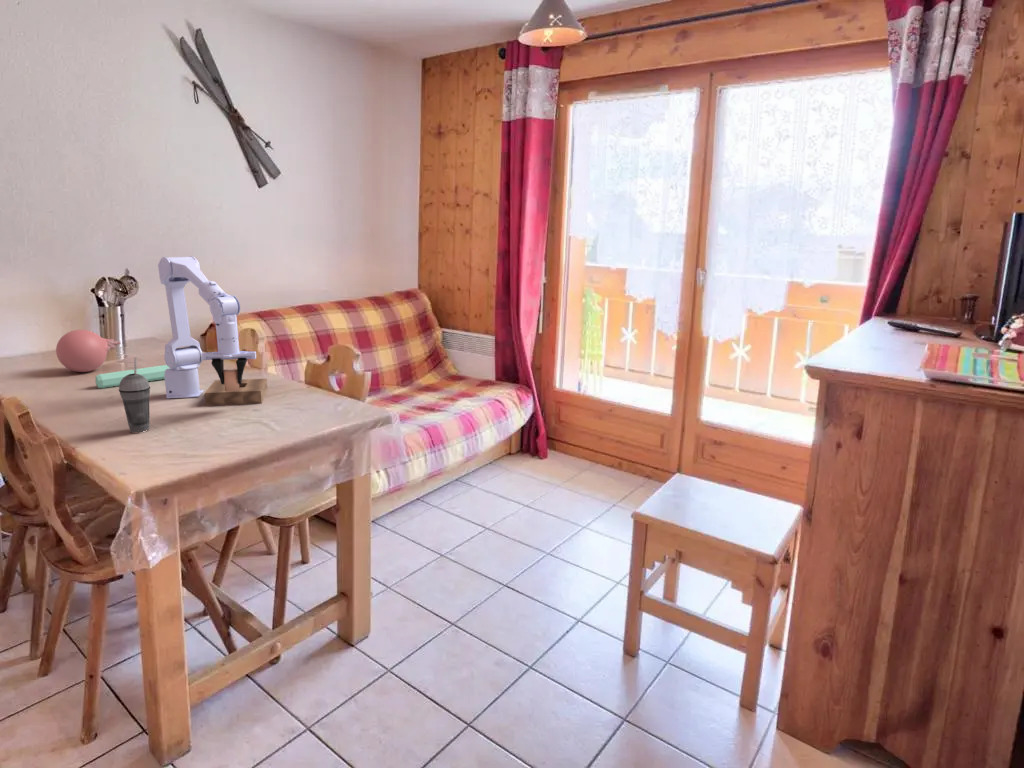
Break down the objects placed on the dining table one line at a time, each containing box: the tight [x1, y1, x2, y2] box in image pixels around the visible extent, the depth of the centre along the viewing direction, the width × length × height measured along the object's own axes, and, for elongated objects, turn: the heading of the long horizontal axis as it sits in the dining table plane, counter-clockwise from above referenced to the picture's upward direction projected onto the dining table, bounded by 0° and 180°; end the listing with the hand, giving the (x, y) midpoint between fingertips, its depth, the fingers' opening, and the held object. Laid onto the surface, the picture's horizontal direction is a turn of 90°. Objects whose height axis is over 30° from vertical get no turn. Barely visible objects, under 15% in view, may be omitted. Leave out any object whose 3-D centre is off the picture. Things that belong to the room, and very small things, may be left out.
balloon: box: [55, 329, 121, 373], centre depth 233 cm, size 15×20×15 cm
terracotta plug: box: [223, 368, 240, 392], centre depth 189 cm, size 4×4×6 cm
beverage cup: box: [118, 357, 151, 433], centre depth 169 cm, size 7×7×20 cm
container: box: [95, 364, 170, 389], centre depth 220 cm, size 6×6×25 cm
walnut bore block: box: [204, 378, 269, 407], centre depth 204 cm, size 16×16×4 cm
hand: (231, 383), depth 190 cm, fingers closed on terracotta plug, 4 cm apart
